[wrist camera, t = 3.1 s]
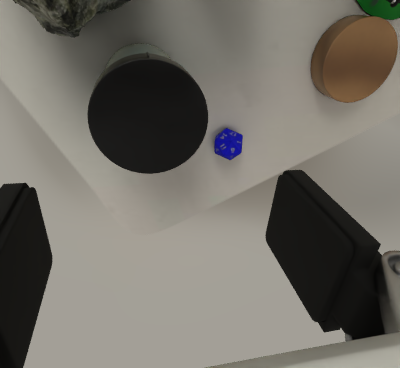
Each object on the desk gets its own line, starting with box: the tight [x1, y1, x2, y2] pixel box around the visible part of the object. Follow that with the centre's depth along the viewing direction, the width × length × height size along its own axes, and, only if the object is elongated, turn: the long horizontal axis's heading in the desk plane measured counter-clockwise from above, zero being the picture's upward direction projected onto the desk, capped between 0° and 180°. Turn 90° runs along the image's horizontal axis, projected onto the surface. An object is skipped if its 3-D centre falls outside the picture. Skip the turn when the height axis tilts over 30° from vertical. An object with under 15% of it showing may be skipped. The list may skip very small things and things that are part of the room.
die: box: [215, 128, 243, 160], centre depth 27 cm, size 3×3×3 cm
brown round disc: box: [311, 15, 398, 103], centre depth 26 cm, size 7×7×2 cm
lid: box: [88, 52, 208, 174], centre depth 18 cm, size 7×7×2 cm
